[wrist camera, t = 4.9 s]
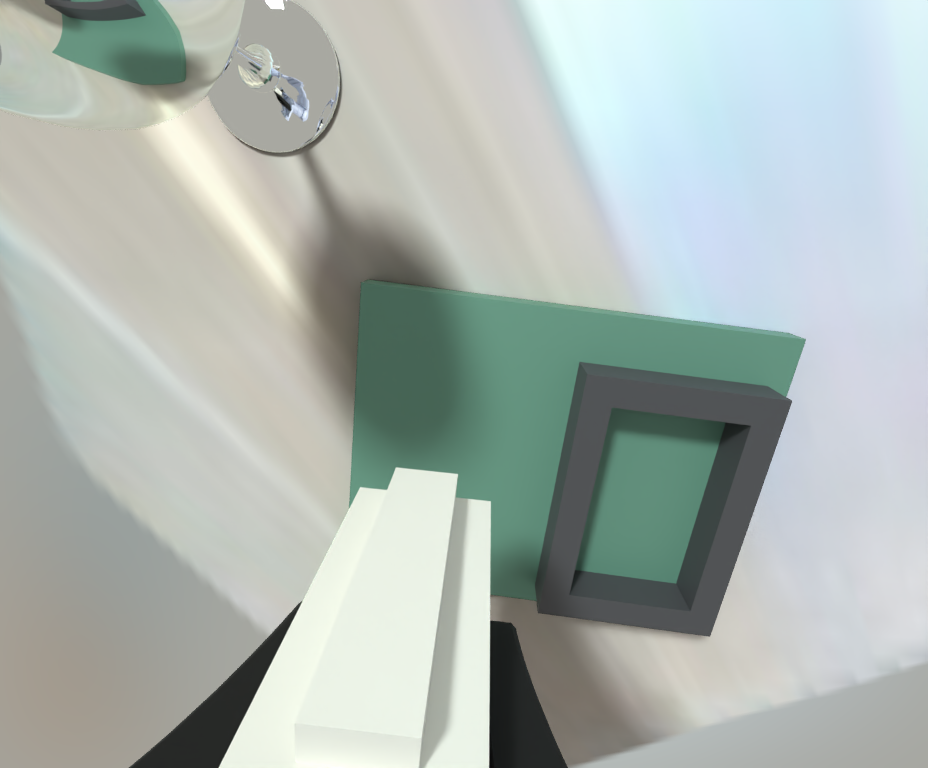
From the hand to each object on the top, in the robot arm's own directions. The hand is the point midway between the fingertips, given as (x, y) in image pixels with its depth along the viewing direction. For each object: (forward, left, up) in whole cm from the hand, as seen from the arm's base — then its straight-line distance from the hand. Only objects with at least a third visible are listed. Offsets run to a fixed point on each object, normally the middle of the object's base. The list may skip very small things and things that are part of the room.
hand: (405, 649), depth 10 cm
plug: (0, 0, -2) cm, 2 cm away
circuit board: (-4, 0, -10) cm, 11 cm away
